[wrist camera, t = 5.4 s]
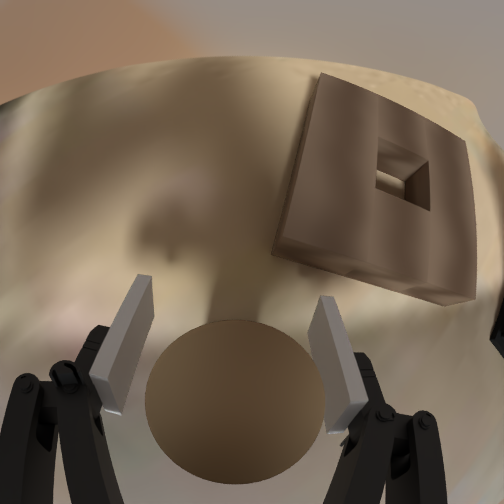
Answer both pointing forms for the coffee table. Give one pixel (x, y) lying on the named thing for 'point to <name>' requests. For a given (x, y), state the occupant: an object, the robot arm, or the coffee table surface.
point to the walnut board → (381, 197)
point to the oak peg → (235, 402)
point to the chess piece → (499, 332)
